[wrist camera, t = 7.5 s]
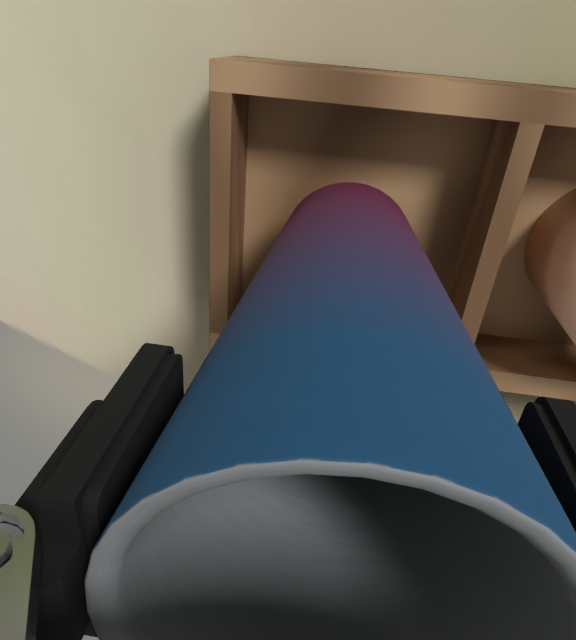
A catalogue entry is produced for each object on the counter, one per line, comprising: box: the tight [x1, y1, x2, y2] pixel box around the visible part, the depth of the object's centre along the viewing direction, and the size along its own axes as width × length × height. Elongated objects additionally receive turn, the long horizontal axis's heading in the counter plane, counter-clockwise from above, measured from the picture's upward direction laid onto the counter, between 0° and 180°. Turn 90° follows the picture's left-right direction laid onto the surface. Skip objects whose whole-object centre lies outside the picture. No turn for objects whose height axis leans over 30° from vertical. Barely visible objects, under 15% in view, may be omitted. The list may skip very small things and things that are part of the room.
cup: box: [85, 182, 576, 640], centre depth 13 cm, size 7×7×15 cm
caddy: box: [209, 56, 576, 401], centre depth 21 cm, size 22×12×4 cm, turn 85°
